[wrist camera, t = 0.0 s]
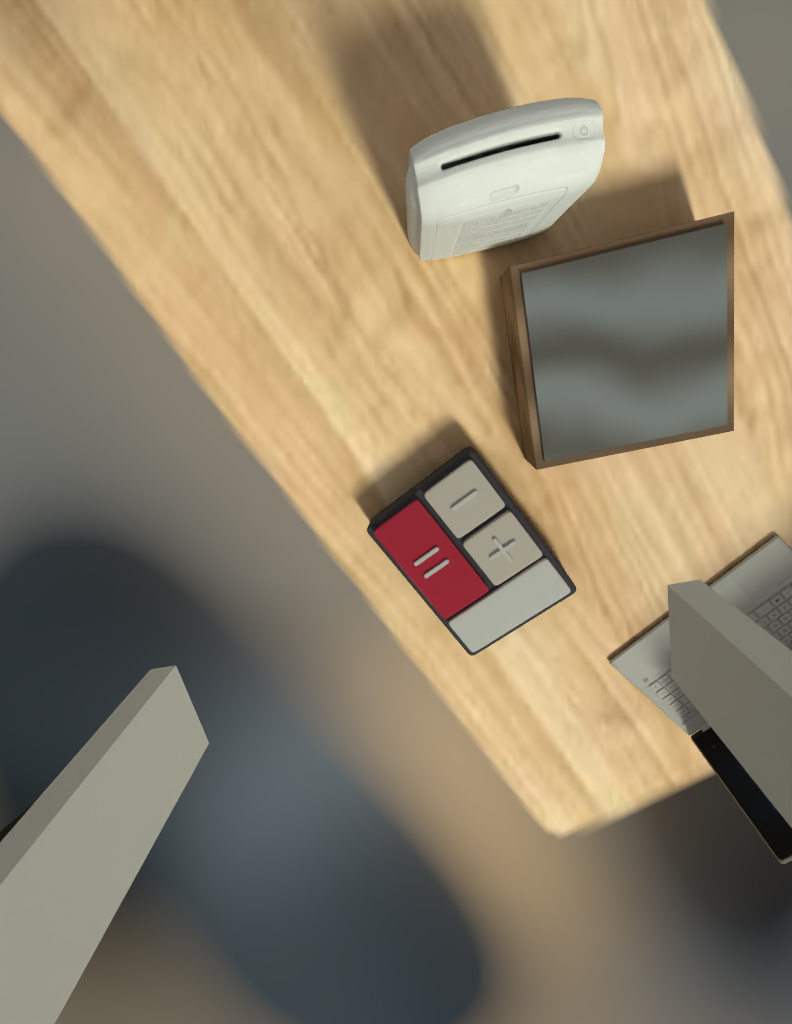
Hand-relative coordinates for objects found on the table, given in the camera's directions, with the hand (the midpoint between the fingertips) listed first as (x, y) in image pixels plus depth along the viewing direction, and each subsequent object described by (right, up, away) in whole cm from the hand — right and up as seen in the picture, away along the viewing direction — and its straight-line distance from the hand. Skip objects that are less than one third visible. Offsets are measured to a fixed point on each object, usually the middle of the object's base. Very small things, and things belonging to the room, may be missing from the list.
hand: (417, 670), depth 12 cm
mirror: (+16, +16, +23) cm, 33 cm away
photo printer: (+5, +25, +21) cm, 33 cm away
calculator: (+6, +1, +29) cm, 30 cm away
